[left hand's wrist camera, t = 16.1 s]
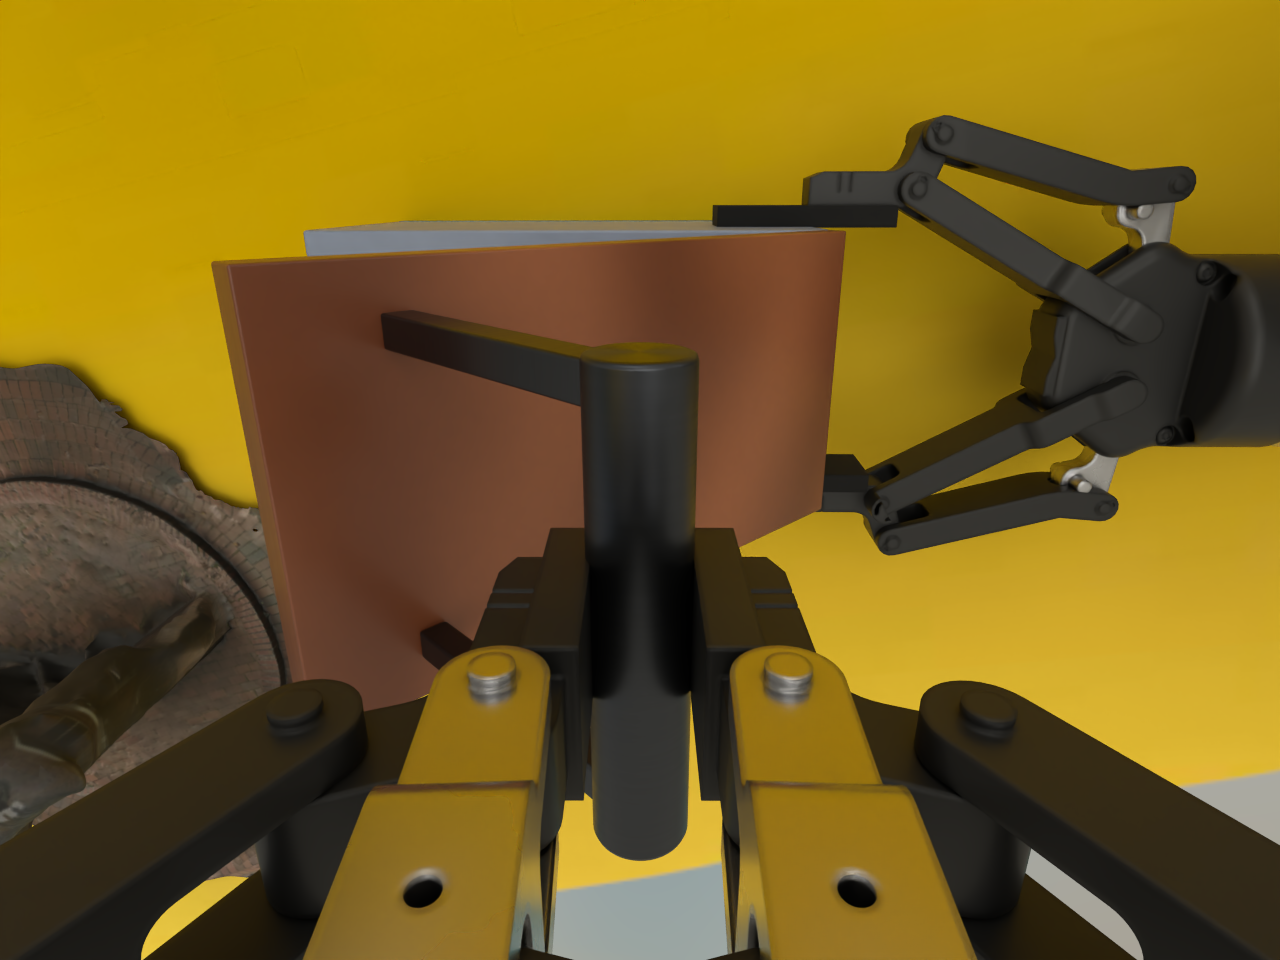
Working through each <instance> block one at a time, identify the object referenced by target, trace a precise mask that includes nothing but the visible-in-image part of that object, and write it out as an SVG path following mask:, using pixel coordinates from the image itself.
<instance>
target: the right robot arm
mask: <svg viewBox="0 0 1280 960" xmlns="http://www.w3.org/2000/svg"><path fill="white" fill-rule="evenodd" d="M905 142H906V145H905V148H904V150H903V152H902V154H901V156H900V158H899V160H898V162H897V163H896V164H895V165H894V167H892V168H891V169H889V170H887V171H853V172H851V171H850V172H819V173H816V174H813V175H811V176H808V177H806V178H804V179H803V192H802V205H713V219H712V225H714V226H716V227H815V228H843V227H896V226H897V217H898V210H899V211H901V212H903V213H904V214H906V215H907V216H909V217H911V218H912V219H914V220H915V221H917V222H919V223H920V224H922V225H924V226H925V227H927V228H928V229H930V230H932V231H933V232H935V233H937V234H938V235H940V236H941V237H943V238H945V239H946V240H948V241H950V242H951V243H953V244H954V245H956V246H958V247H959V248H961V249H962V250H964V251H966V252H967V253H969V254H971V255H972V256H974V257H975V258H977V259H979V260H980V261H982V262H984V263H985V264H987V265H988V266H990V267H992V268H993V269H995V270H996V271H998V272H1000V273H1001V274H1003V275H1005V276H1006V277H1008V278H1009V279H1011V280H1013V281H1014V282H1015V283H1016V284H1017V285H1018V286H1019V287H1021V288H1022V289H1024V290H1026V291H1027V292H1029V293H1030V294H1032V295H1034V296H1035V297H1037V298H1039V299H1040V300H1042V301H1043V304H1042V305H1041V307H1040V309H1039V310H1033V315H1032V321H1031V326H1030V332H1031V343H1032V348H1031V351H1030V353H1029V355H1028V358H1027V360H1026V362H1025V364H1024V366H1023V372H1022V377H1021V383H1020V385H1022V386H1024V387H1025V388H1023V389H1021V390H1019V391H1017V392H1015V393H1013V394H1011V395H1009V396H1007V397H1005V398H1003V399H1001V400H999V401H998V402H997V403H996V406H995V407H994V408H993V409H991V410H989V411H987V412H985V413H983V414H980V415H978V416H976V417H974V418H972V419H970V420H968V421H966V422H964V423H962V424H960V425H958V426H956V427H954V428H951V429H949V430H947V431H945V432H943V433H941V434H939V435H937V436H935V437H933V438H931V439H929V440H927V441H925V442H922V443H920V444H918V445H916V446H914V447H912V448H910V449H908V450H906V451H904V452H902V453H900V454H898V455H896V456H894V457H891V458H889V459H887V460H885V461H883V462H881V463H879V464H877V465H875V466H873V467H871V468H869V469H867V470H865V469H864V468H863V467H862V465H861V464H860V463H859V461H858V460H857V459H856V457H855V456H854V455H853V454H826V460H825V471H824V482H823V493H822V505H821V509H820V510H818V511H815V512H821V511H822V512H857V513H860V514H862V515H863V518H864V525H865V528H866V529H867V531H868V532H869V534H870V536H871V537H872V539H873V540H874V542H875V544H876V545H877V547H878V548H879V550H880V551H881V552H882V553H883V554H886V555H897V554H901V553H906V552H910V551H915V550H919V549H923V548H928V547H932V546H937V545H941V544H946V543H950V542H954V541H959V540H963V539H968V538H972V537H976V536H981V535H985V534H990V533H994V532H999V531H1003V530H1007V529H1012V528H1016V527H1021V526H1025V525H1029V524H1034V523H1038V522H1043V521H1047V520H1052V519H1056V518H1069V519H1080V520H1092V521H1105V520H1108V519H1110V518H1111V517H1113V516H1114V515H1115V514H1116V512H1117V510H1118V505H1119V504H1118V501H1117V499H1116V498H1115V497H1114V496H1112V495H1111V494H1109V493H1108V489H1109V486H1110V483H1111V480H1112V477H1113V474H1114V471H1115V468H1116V464H1117V461H1118V458H1119V457H1123V456H1126V455H1129V454H1131V453H1133V452H1135V451H1137V450H1140V449H1143V448H1146V447H1151V446H1170V447H1263V446H1270V445H1271V446H1277V447H1280V254H1188V253H1186V252H1184V251H1182V250H1180V249H1179V248H1178V247H1176V246H1175V245H1173V244H1170V243H1169V241H1170V234H1171V228H1172V221H1173V214H1174V208H1175V202H1179V201H1182V200H1184V199H1185V198H1187V197H1188V196H1189V195H1190V194H1191V193H1192V191H1193V190H1194V187H1195V185H1196V175H1195V173H1194V171H1193V170H1192V169H1190V168H1189V167H1185V166H1176V167H1160V168H1145V169H1133V170H1129V169H1125V168H1122V167H1119V166H1115V165H1112V164H1109V163H1106V162H1102V161H1099V160H1096V159H1092V158H1089V157H1086V156H1082V155H1079V154H1076V153H1072V152H1069V151H1066V150H1063V149H1059V148H1056V147H1053V146H1049V145H1046V144H1043V143H1039V142H1036V141H1033V140H1029V139H1026V138H1023V137H1019V136H1016V135H1013V134H1010V133H1006V132H1003V131H1000V130H996V129H993V128H990V127H986V126H983V125H980V124H976V123H973V122H970V121H967V120H963V119H960V118H957V117H953V116H948V115H943V116H940V117H936V118H933V119H929V120H926V121H923V122H920V123H917V124H915V125H914V126H913V127H911V128H910V130H909V131H908V133H907V135H906V141H905ZM943 164H945V165H948V166H951V167H955V168H958V169H961V170H965V171H968V172H972V173H975V174H978V175H982V176H985V177H988V178H992V179H995V180H998V181H1002V182H1005V183H1009V184H1012V185H1015V186H1019V187H1022V188H1025V189H1029V190H1032V191H1035V192H1039V193H1042V194H1046V195H1049V196H1052V197H1056V198H1059V199H1062V200H1066V201H1069V202H1073V203H1078V204H1084V205H1104V206H1103V208H1102V215H1103V216H1104V218H1105V221H1106V222H1107V223H1108V224H1109V225H1111V226H1114V227H1119V228H1122V229H1123V230H1125V232H1126V233H1127V235H1128V244H1126V245H1124V246H1123V247H1121V248H1119V249H1118V250H1116V251H1115V252H1113V253H1112V254H1110V255H1109V256H1107V257H1105V258H1104V259H1102V260H1101V261H1099V262H1098V263H1096V264H1095V265H1093V266H1092V267H1090V268H1088V269H1087V270H1086V269H1085V268H1083V267H1081V266H1079V265H1077V264H1075V263H1073V262H1070V261H1068V260H1066V259H1064V258H1062V257H1060V256H1059V255H1057V254H1056V253H1054V252H1052V251H1051V250H1049V249H1048V248H1046V247H1044V246H1043V245H1041V244H1040V243H1038V242H1037V241H1035V240H1033V239H1032V238H1030V237H1029V236H1027V235H1025V234H1024V233H1022V232H1021V231H1019V230H1017V229H1016V228H1014V227H1013V226H1011V225H1010V224H1008V223H1006V222H1005V221H1003V220H1002V219H1000V218H998V217H997V216H995V215H994V214H992V213H991V212H989V211H987V210H986V209H984V208H983V207H981V206H979V205H978V204H976V203H975V202H973V201H971V200H970V199H968V198H967V197H965V196H964V195H962V194H960V193H959V192H957V191H956V190H954V189H952V188H951V187H949V186H948V185H946V184H944V183H943V182H941V181H940V180H938V179H937V177H938V175H939V172H940V170H941V168H942V166H943ZM1070 436H1072V437H1073V438H1074V439H1076V440H1077V441H1078V442H1079V443H1081V444H1082V445H1083V446H1084V449H1083V451H1082V453H1081V454H1080V455H1079V456H1078V457H1077V458H1075V459H1073V460H1069V461H1063V462H1061V463H1060V462H1056V463H1054V464H1052V465H1051V467H1050V472H1032V473H1025V474H1019V475H1015V476H1011V477H1006V478H1002V479H998V480H994V481H989V482H985V483H981V484H977V485H972V486H968V487H964V488H959V489H955V490H951V491H947V492H942V493H938V494H934V493H936V492H938V491H940V490H942V489H944V488H946V487H949V486H951V485H953V484H955V483H957V482H959V481H961V480H964V479H966V478H968V477H970V476H972V475H974V474H976V473H979V472H981V471H983V470H985V469H987V468H989V467H991V466H993V465H996V464H998V463H1000V462H1002V461H1004V460H1006V459H1008V458H1011V457H1013V456H1015V455H1017V454H1019V453H1021V452H1023V451H1026V450H1028V449H1040V448H1045V447H1048V446H1050V445H1053V444H1055V443H1057V442H1059V441H1061V440H1063V439H1065V438H1068V437H1070ZM931 494H934V495H931ZM929 495H930V496H929Z"/></svg>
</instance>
